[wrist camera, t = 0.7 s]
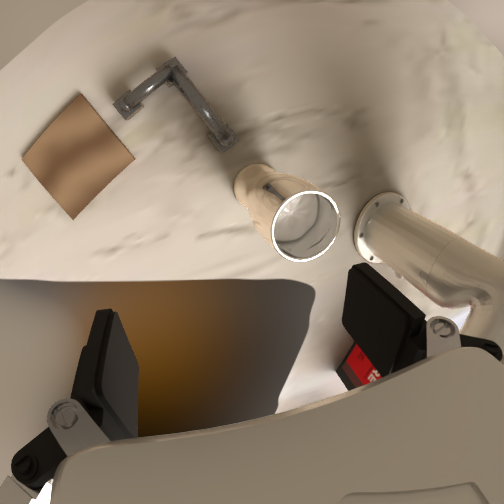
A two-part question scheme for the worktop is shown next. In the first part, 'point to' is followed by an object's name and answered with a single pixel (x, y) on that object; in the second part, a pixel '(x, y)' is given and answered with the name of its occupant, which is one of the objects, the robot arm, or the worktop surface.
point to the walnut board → (77, 156)
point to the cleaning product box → (357, 369)
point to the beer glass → (288, 212)
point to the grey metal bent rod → (177, 76)
